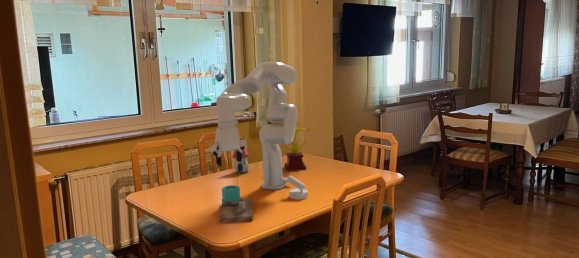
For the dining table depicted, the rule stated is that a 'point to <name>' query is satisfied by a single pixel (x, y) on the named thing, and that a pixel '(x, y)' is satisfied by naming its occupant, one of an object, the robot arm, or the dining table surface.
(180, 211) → the dining table surface
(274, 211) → the dining table surface
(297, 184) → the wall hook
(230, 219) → the board
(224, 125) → the robot arm
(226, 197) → the collar
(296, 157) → the potted plant
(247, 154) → the decorative ornament
